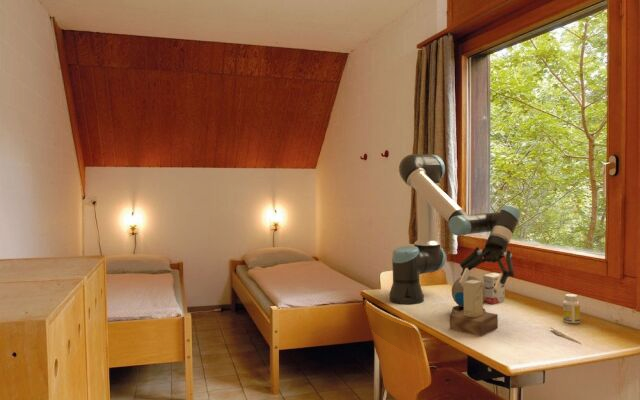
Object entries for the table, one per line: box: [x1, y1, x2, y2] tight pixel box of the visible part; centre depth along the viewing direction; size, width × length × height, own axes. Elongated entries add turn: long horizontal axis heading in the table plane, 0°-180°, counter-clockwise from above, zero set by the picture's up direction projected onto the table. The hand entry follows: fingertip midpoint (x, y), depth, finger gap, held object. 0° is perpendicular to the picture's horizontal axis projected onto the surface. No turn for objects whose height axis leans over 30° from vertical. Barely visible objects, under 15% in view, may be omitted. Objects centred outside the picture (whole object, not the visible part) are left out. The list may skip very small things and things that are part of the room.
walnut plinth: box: [449, 310, 499, 337], centre depth 170 cm, size 12×12×5 cm
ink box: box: [483, 272, 506, 305], centre depth 206 cm, size 8×5×12 cm, turn 123°
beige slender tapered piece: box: [549, 325, 583, 345], centre depth 159 cm, size 15×3×2 cm, turn 12°
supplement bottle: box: [562, 293, 581, 324], centre depth 175 cm, size 5×5×10 cm
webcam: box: [451, 275, 487, 315], centre depth 189 cm, size 13×13×15 cm
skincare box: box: [463, 280, 484, 318], centre depth 170 cm, size 6×4×12 cm
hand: (478, 287), depth 171 cm, fingers open, 13 cm apart
